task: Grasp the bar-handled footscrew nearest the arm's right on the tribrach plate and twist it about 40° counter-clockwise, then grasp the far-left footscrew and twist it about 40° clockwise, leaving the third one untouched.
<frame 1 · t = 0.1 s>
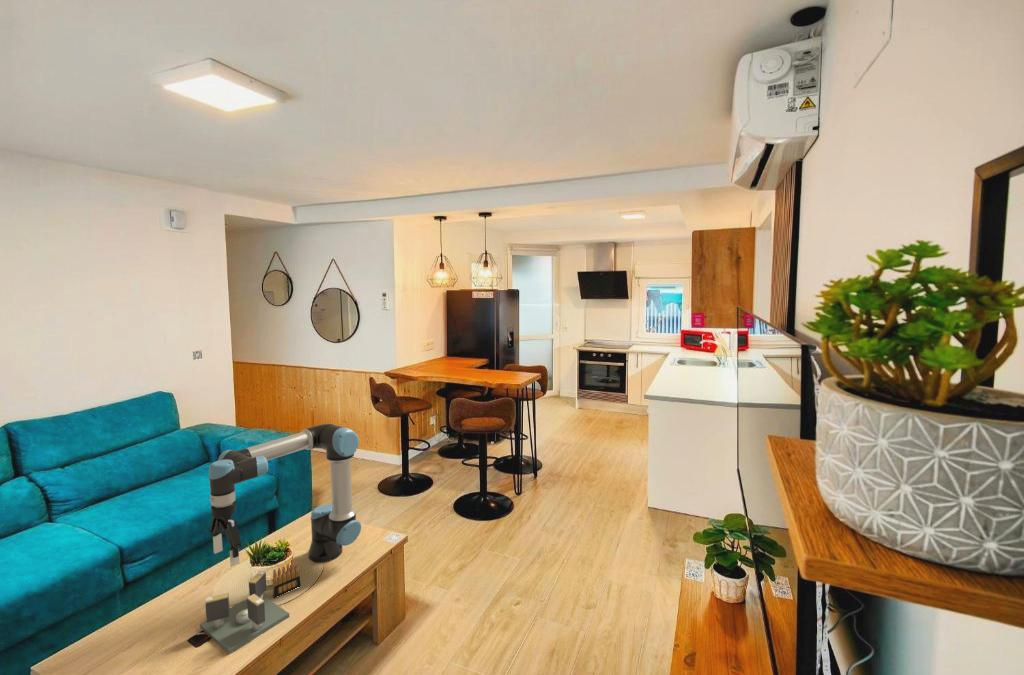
hand: (226, 558, 170), 28 cm above the table, fingers open, 13 cm apart
tribrach plate: (245, 622, 176), on the table
ammunition clip: (287, 591, 194), on the table
smartphone: (213, 632, 171), on the table
knob 2: (256, 613, 170), point 7 cm above the table, hinge at 0.0°
grey brown rectangular block 3: (258, 589, 183), point 7 cm above the table, hinge at 0.0°
knob 1: (217, 611, 171), point 7 cm above the table, hinge at 0.0°
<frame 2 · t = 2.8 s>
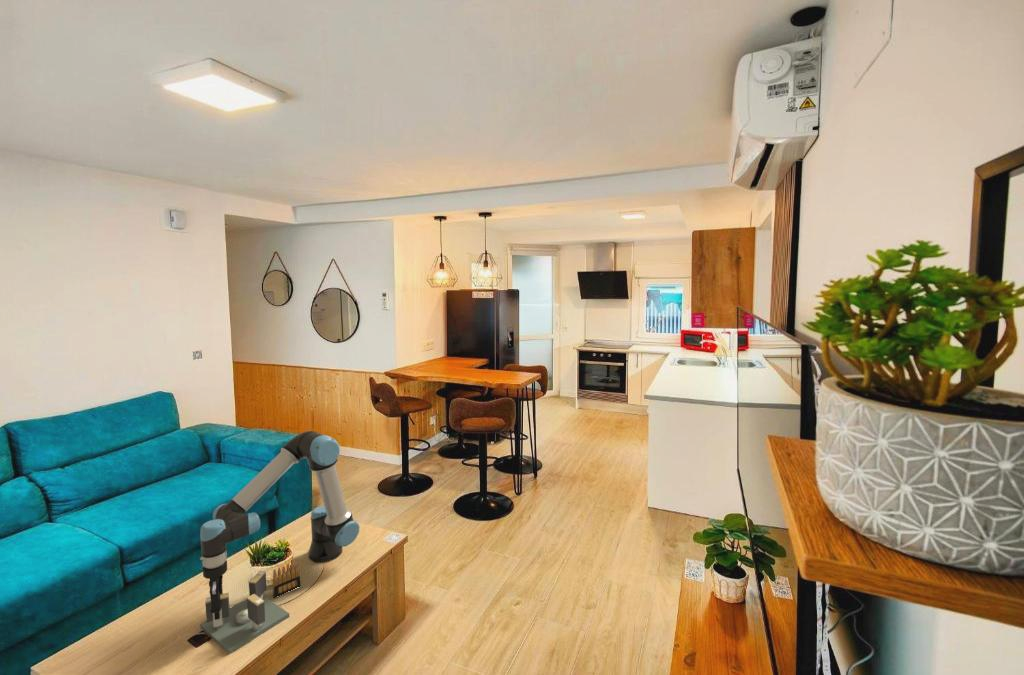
hand: (218, 622, 172), 3 cm above the table, fingers closed on knob 1, 3 cm apart
knob 1: (217, 611, 171), point 7 cm above the table, hinge at 0.0°, touching gripper
everything else where it was.
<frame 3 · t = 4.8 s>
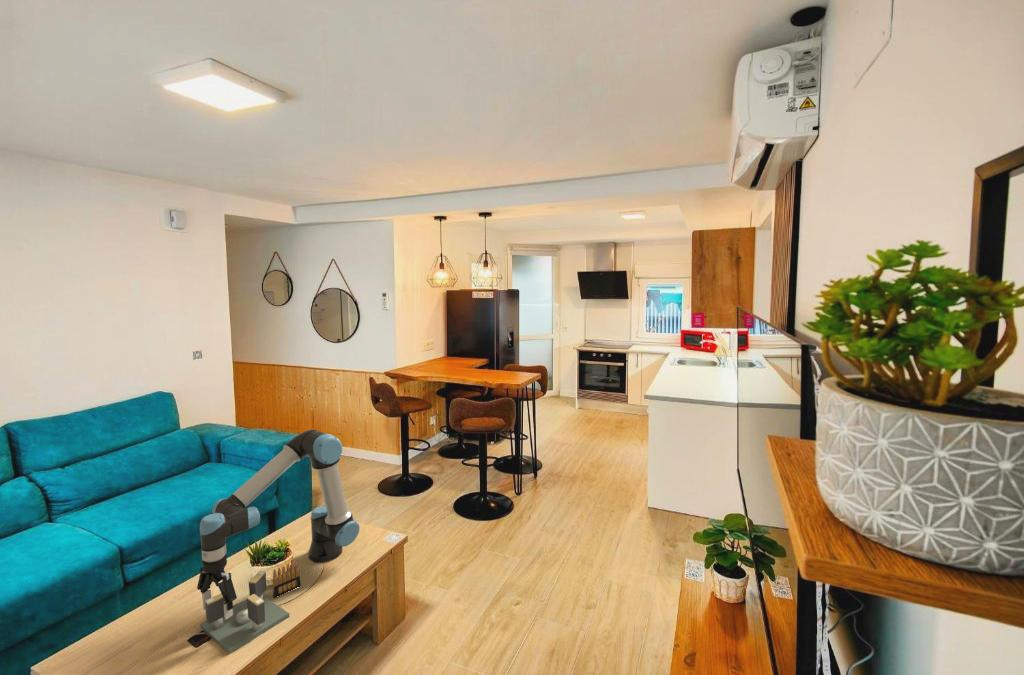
hand: (218, 612, 171), 7 cm above the table, fingers open, 11 cm apart
knob 1: (217, 611, 171), point 7 cm above the table, hinge at 24.6°
everything else where it was.
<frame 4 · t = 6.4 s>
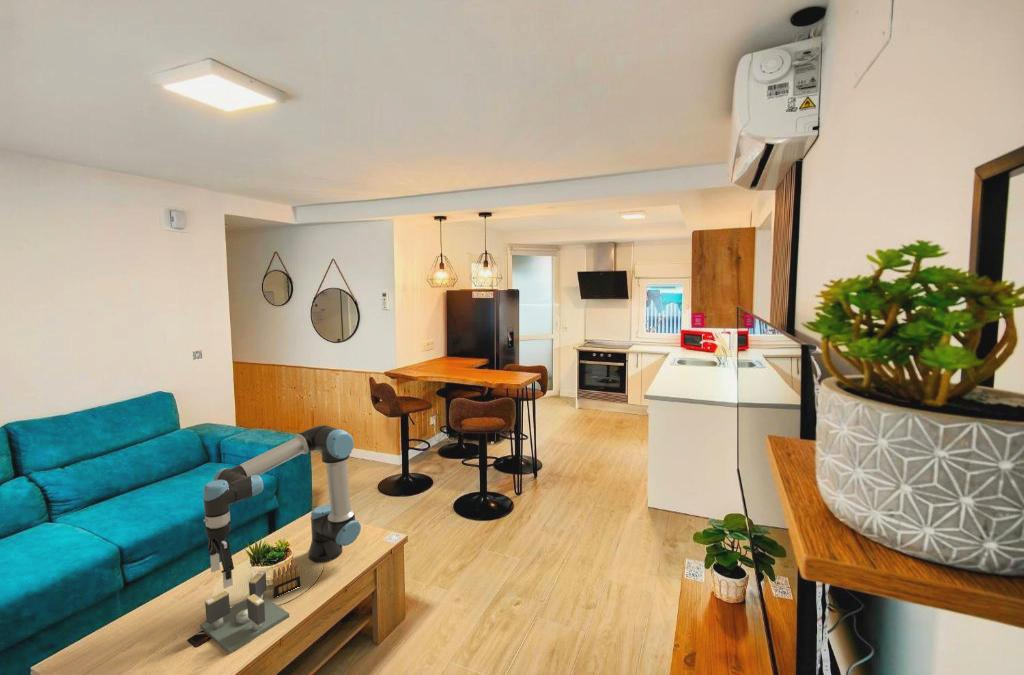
hand: (221, 578, 170), 20 cm above the table, fingers open, 13 cm apart
knob 1: (217, 611, 171), point 7 cm above the table, hinge at 31.5°
everything else where it was.
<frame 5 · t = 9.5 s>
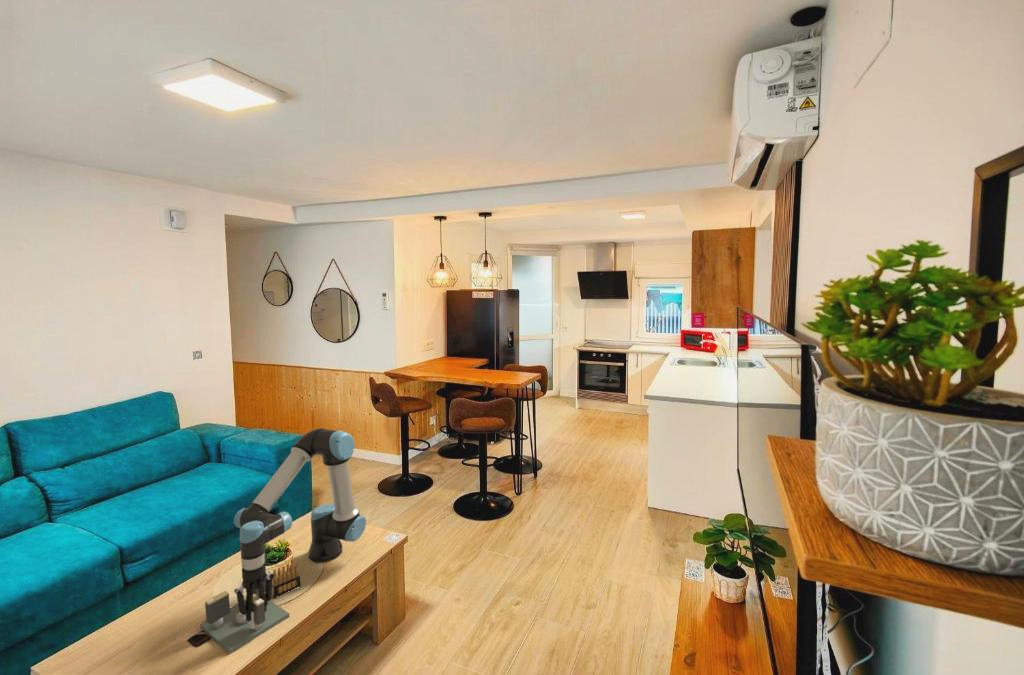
hand: (256, 624, 171), 3 cm above the table, fingers closed on knob 2, 3 cm apart
knob 2: (256, 613, 170), point 7 cm above the table, hinge at 0.0°, touching gripper
knob 1: (217, 611, 171), point 7 cm above the table, hinge at 32.9°
everything else where it was.
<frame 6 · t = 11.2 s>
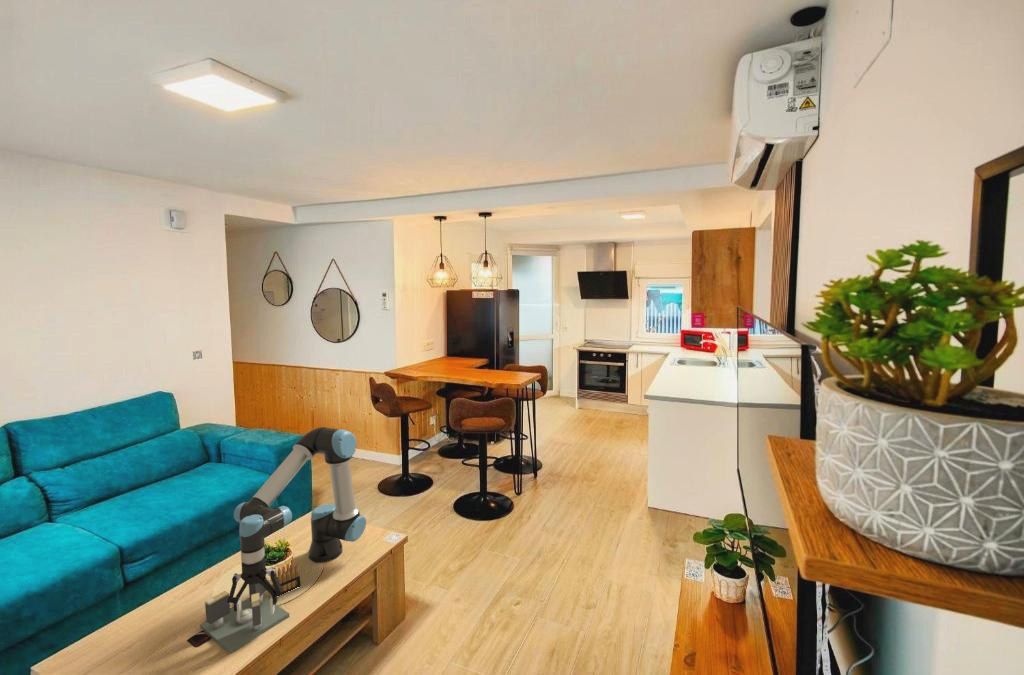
hand: (256, 615, 170), 7 cm above the table, fingers open, 10 cm apart
knob 2: (256, 613, 170), point 7 cm above the table, hinge at -25.8°
everything else where it was.
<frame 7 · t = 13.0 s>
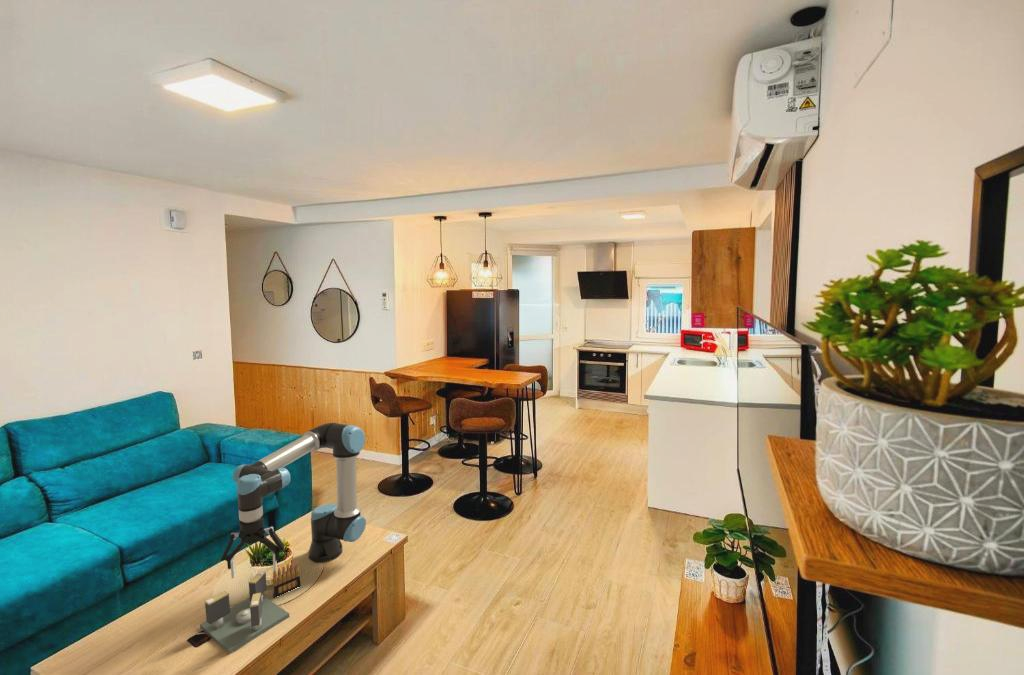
hand: (254, 572, 170), 23 cm above the table, fingers open, 13 cm apart
knob 2: (256, 613, 170), point 7 cm above the table, hinge at -34.9°
everything else where it was.
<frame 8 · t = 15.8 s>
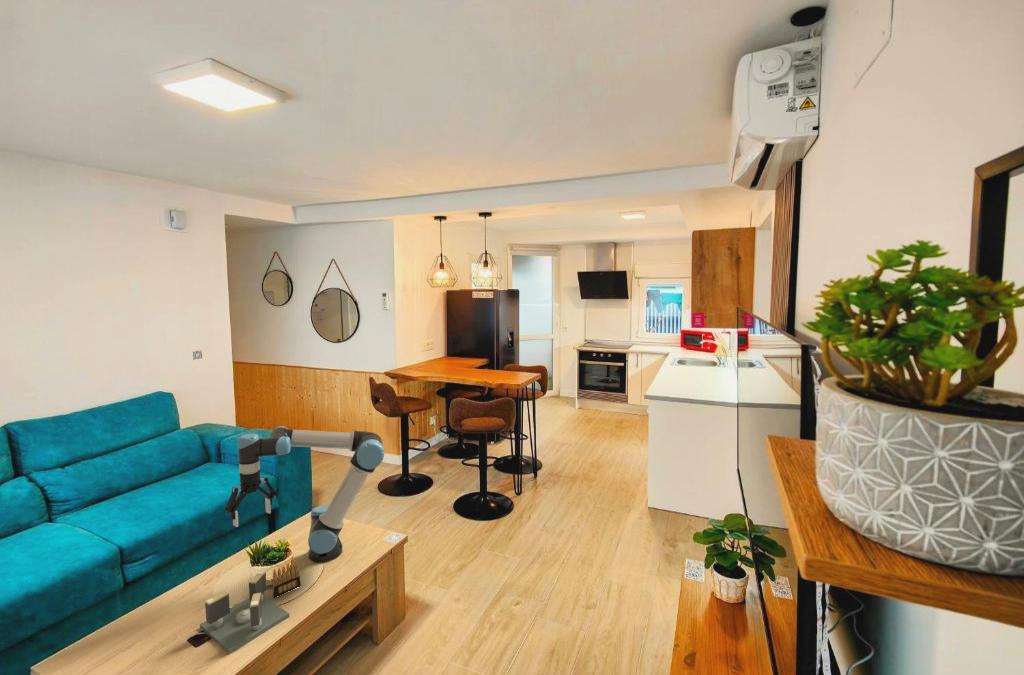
hand: (252, 519, 196), 29 cm above the table, fingers open, 13 cm apart
knob 2: (256, 613, 170), point 7 cm above the table, hinge at -36.3°
everything else where it was.
at the end: knob 1 at +33° (first picture: +0°); knob 2 at -36° (first picture: +0°); grey brown rectangular block 3 at +0° (first picture: +0°) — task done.
